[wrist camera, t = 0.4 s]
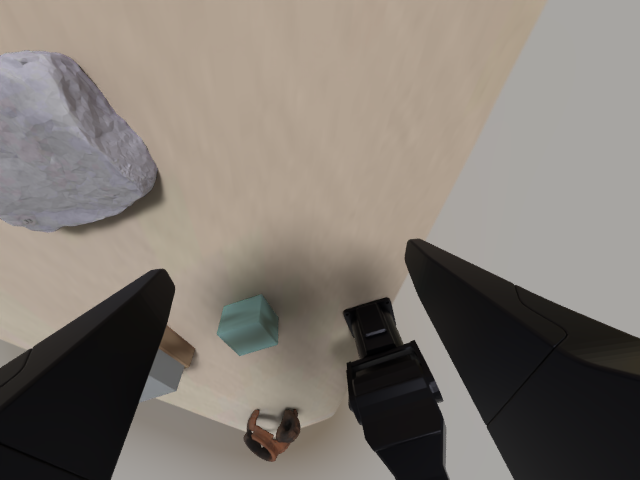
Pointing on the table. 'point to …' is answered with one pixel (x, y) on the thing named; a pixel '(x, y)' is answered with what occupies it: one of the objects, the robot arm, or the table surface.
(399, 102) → the table surface
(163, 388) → the grey middle block
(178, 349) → the walnut base block
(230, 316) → the teal block
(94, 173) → the stone block
